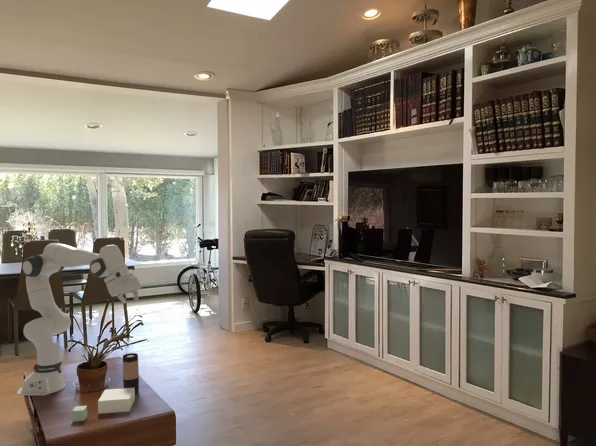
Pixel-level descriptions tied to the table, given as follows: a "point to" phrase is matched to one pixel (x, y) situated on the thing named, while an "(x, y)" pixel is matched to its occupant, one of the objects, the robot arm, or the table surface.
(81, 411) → the sage cube
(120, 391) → the box
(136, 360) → the travel mug
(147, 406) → the table surface
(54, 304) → the robot arm
